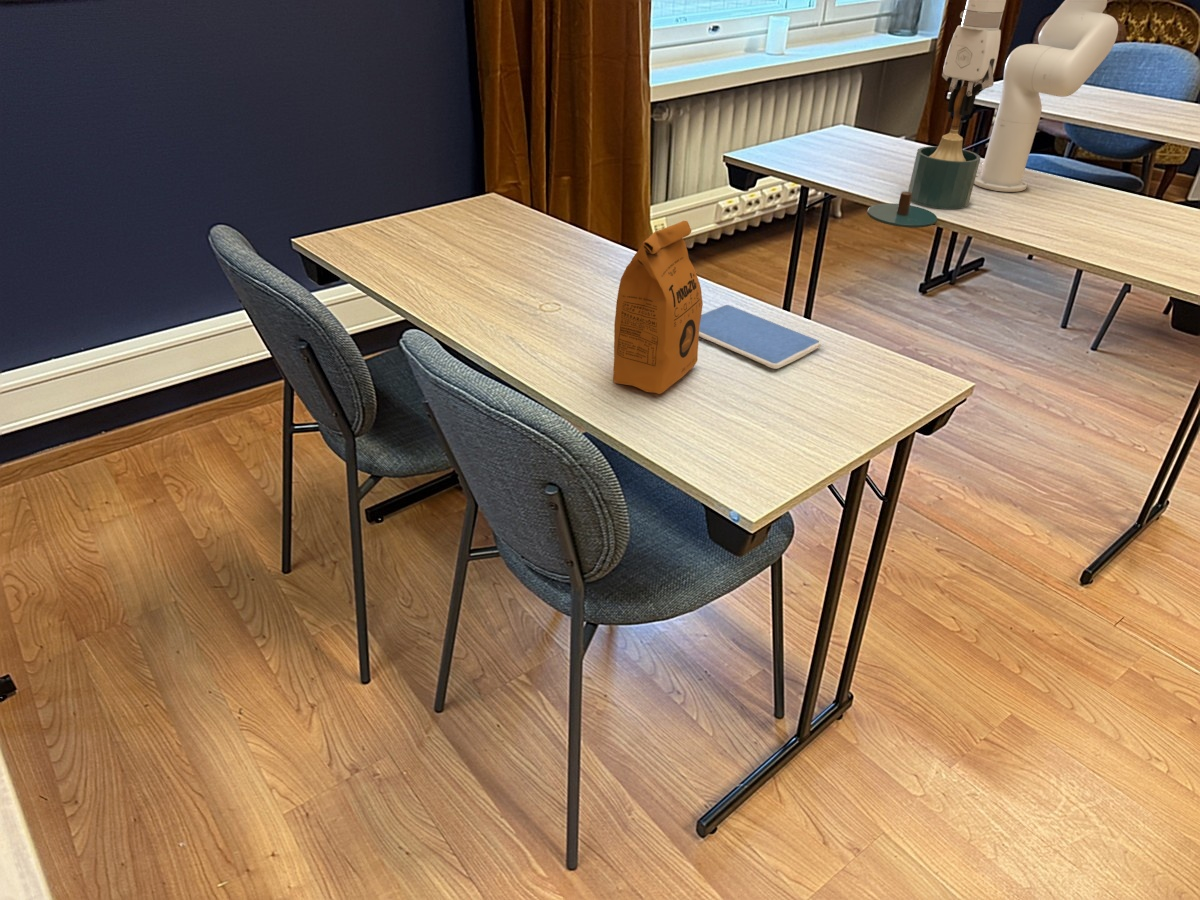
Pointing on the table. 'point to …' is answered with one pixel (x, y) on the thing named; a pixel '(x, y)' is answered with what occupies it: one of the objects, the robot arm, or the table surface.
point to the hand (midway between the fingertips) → (958, 112)
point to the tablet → (755, 336)
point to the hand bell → (952, 135)
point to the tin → (943, 179)
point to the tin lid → (902, 213)
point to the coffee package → (657, 313)
